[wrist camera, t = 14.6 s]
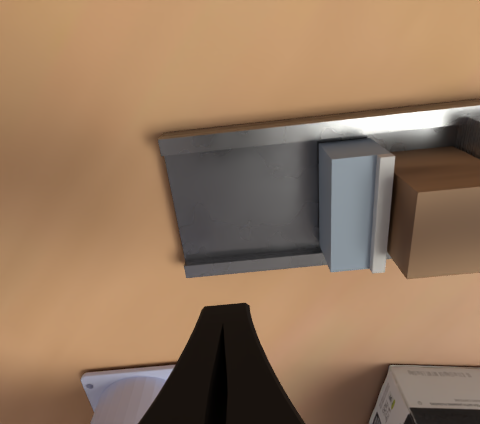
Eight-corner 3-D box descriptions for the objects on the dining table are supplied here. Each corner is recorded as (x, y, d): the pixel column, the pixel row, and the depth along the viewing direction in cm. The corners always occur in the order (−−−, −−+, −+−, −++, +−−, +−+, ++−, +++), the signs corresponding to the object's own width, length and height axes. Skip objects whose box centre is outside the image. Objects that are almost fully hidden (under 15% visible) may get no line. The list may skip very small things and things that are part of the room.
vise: (474, 236, 21) (515, 270, 18) (189, 264, 22) (181, 301, 19) (504, 96, 18) (561, 108, 15) (163, 132, 18) (148, 151, 15)
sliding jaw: (364, 240, 20) (384, 272, 17) (319, 244, 20) (332, 277, 17) (370, 137, 17) (395, 156, 15) (318, 143, 17) (334, 162, 15)
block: (440, 217, 20) (502, 270, 15) (367, 224, 20) (406, 279, 15) (452, 146, 18) (526, 182, 13) (371, 153, 18) (417, 192, 13)
